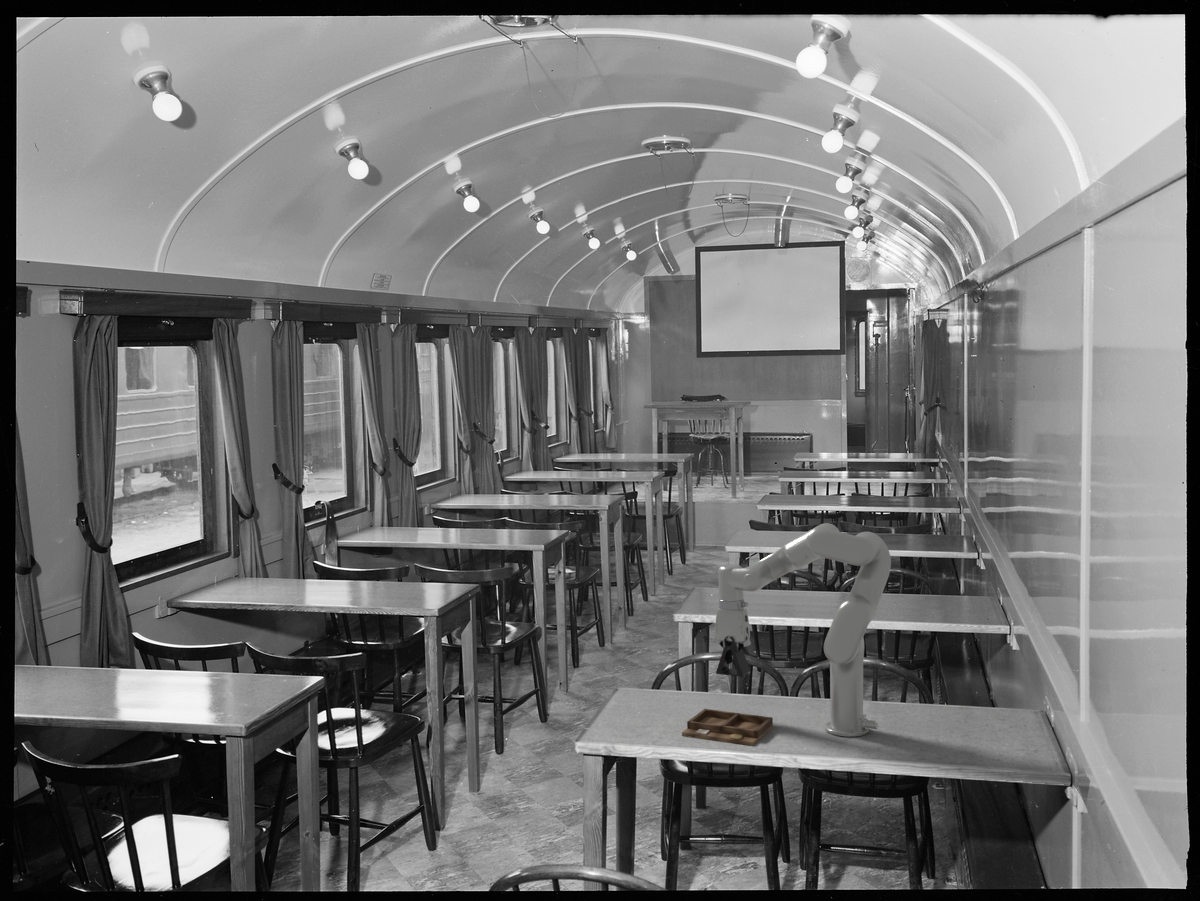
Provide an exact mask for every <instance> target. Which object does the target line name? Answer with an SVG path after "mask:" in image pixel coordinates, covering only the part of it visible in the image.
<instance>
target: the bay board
mask: <svg viewBox="0 0 1200 901" xmlns="http://www.w3.org/2000/svg"><path fill="white" fill-rule="evenodd" d="M686 722H687V724H686V729H684V730H682V732H681V736H682V735H685V736H684V737H688V736H691V737H690V738H695V737H697V738H696V739H702V738H703V740H708V741H716V742H717V741H718V742H724V743H730V744H731V743H732V744H738V745H745V746H752V747H753V746H755V744H757V743H758V742H759V741H760V740H761V739H762V738H763V737H764V736H765V735H766V734H767V733H768V732H770V731H771V729H772V728H773V727H774V724H773V717H771V716H763V715H755V714H747V713H740V712H733V711H726V710H725V711H724V710H719V709H708V708H704V709H702V710H701V711H699V712H698V713H697V714H695V715H694V716H693V717H692V718H690V719H688V720H687V721H686Z"/></svg>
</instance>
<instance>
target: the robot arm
mask: <svg viewBox="0 0 1200 901" xmlns="http://www.w3.org/2000/svg"><path fill="white" fill-rule="evenodd" d="M820 558H824V559H828V560H830V561H831V560H832V561H836V562H839V563H844V564H848V565H852V566H855V567H856V566H858V567H859V566H860V567H859V570H858V573H857V575H856V577H855V579H854V580H855V581H854V583H853V585H852V588H851V589H850V592H849V594H848V595H847V597H846V598H845V599H844V600H843V601H842V602H841V604H840V605H839V606H838V608H837V610H836V612H835V615H834V618H833V619H832V622H831V625H830V627H829V630H828V631H827V634H826V637H825V640H824V643H823V652H824V655H825V657H826V658H827V660H828V661H830V664H829V665H830V666H829V667H830V668H829V671H830V672H829V673H830V675H829V676H830V677H829V682H830V684H829V687H830V688H829V689H830V690H829V691H830V692H829V694H830V696H829V697H830V701H829V702H830V706H829V707H830V708H829V709H830V721H828V722H826V723H825V725H824V726H825V727H824V728H825V731H826V732H827V733H829V734H831V735H835V736H839V737H846V738H847V737H851V738H852V737H861V736H864V735H866V734H868V733H869V731H870V730H869V729H871V730H878V727H879V724H878V722H876V720H872V719H871V720H870V719H868V718H867V714H864V656H865V655H864V654H865V638H864V636H865V634H866V631H867V629H868V627H869V624H871V622H872V621H873V619H874V617H875V616H876V610H877V609H878V608H877V607H878V606H879V603H880V601H881V598H882V595H883V593H884V590H885V587H886V585H887V583H888V579H889V576H890V572H891V569H892V568H891V565H892V560H891V559H892V558H891V554H890V551H889V548H888V546H887V544H886V543H885V541H884V540H883V538H881V536H879V535H878V534H876V533H874V532H871V531H862V532H859V533H857V534H856V535H853V534H848V533H844V532H841V531H840V530H839V528H838V527H837V526H836V525H834V524H832V523H828V522H826V523H825V522H824V523H822V524H819V525H817V526H815V527H814V528H812V529H809V530H808V531H806V532H805V533H803V534H801V535H799V536H797V537H796V538H794V539H791V540H790V541H789V542H787V543H785V544H784V545H782V547H781V548H779V549H778V550H776V551H774V552H773V553H771V554H769V555H767V556H766V557H764V558H762V559H761V560H759V561H757V562H755V563H753V564H751V565H749V566H746V567H742V566H741V565H738V564H723V565H721V566H719V568H718V571H717V572H718V578H717V579H718V604H719V605H718V608H717V610H716V616H715V622H714V623H715V626H714V627H715V629H714V634H715V636H714V639H713V642H714V643H715V644H718V645H720V647H721V648H722V650H723V649H724V639H725V638H726V637H727V636H728V638H727V639H726V641H727V642H732V640H731V639H730V637H732V638H733V639H734V642H735V647H736V650H737V652H739V651H740V650H741V649H743V648H745V647H749V646H750V645H752V641H751V639H750V638H751V632H750V621H749V615H748V610H747V607H748V606H749V605H748V604H749V603H748V602H746V601H745V599H744V592H745V591H746V592H749V593H751V592H752V593H754V592H757V591H760V590H761V589H763V588H764V587H765V586H767V585H768V584H771V583H772V582H774V581H775V580H778V579H779V578H781V577H783V576H784V575H787V574H789V573H791V572H793V571H798V570H800V569H802V568H804V567H806V566H808V565H809V564H811V563H813V562H815V561H817V560H819V559H820ZM745 607H746V608H745ZM726 658H727V664H729V665H730V664H731V663H732V665H733V666H735V663H734V659H733V656H732V652H731V649H730V650H729V651H728V652H727V656H726Z"/></svg>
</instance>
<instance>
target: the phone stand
mask: <svg viewBox="0 0 1200 901" xmlns="http://www.w3.org/2000/svg"><path fill="white" fill-rule="evenodd" d="M727 638H728V636H727V637H726V638H725V639H724V649H723V648H722V652H721V655H720V658H719V662H718V665H717V668H716V671H715V674H716V675H722V676H723V675H724V676H733V677H740V678H741V677H742V678H743V677H744V676H746V675H747V674H748V673H751V669H750V666H749V663H748V661H747V658H746V655H745V652H744V650H743V648H742V649H741V650H740V651H739V652H737V650H736V647H735V642H734V639H733V638H732V637H730V639H731V640H732V642H727V641H726V639H727ZM730 649H731V652H732V660H733V659H734V663H735V665H734V666H735V668H730V664H727V658H726V656H727V652H728V651H729V650H730Z"/></svg>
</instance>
